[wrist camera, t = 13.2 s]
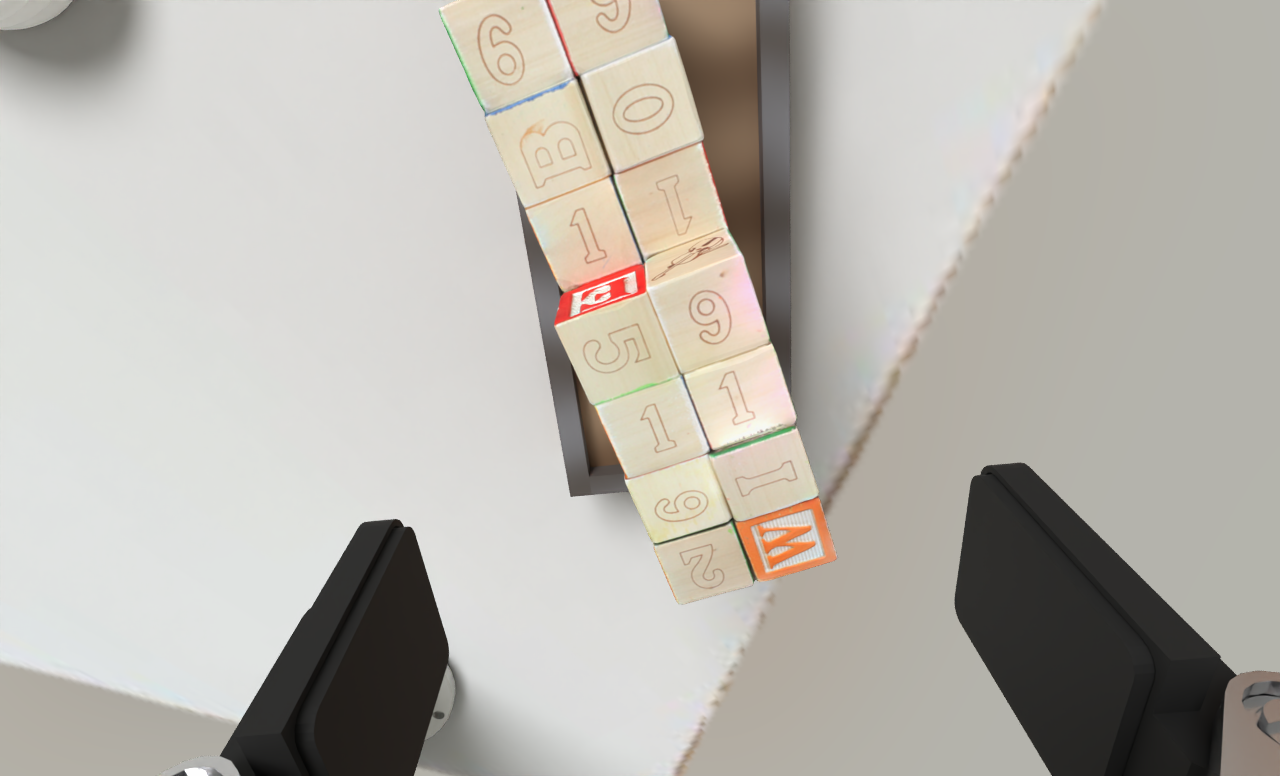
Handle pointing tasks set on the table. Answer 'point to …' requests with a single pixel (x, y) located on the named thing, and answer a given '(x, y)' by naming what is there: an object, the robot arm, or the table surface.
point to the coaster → (29, 12)
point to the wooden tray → (746, 183)
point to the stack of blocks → (648, 282)
